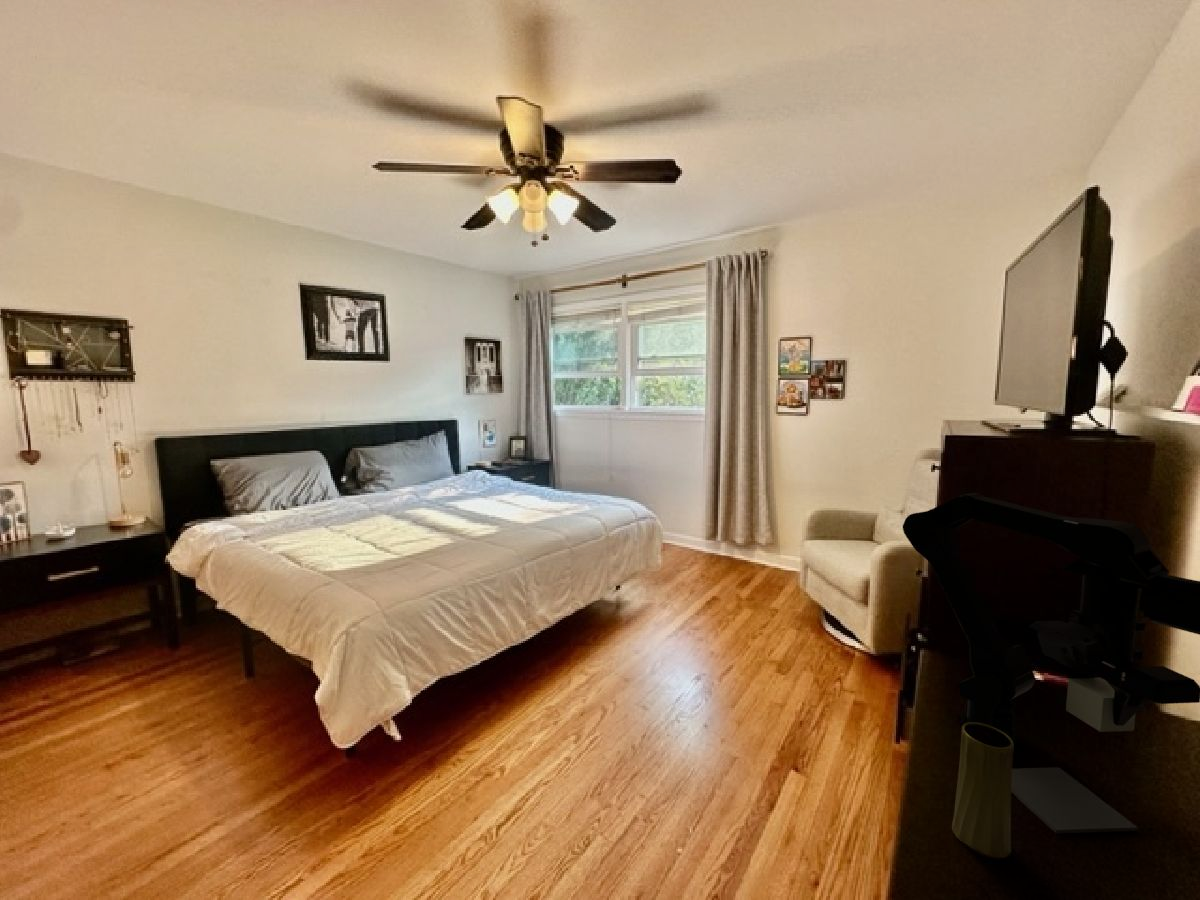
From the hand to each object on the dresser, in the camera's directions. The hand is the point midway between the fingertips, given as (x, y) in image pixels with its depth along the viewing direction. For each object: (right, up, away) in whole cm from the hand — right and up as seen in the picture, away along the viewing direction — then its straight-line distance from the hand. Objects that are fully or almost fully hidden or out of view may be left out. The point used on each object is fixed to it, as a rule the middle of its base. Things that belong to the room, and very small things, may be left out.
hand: (1099, 713), depth 73 cm
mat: (-8, -11, -2) cm, 14 cm away
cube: (0, -1, 0) cm, 1 cm away
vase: (-24, -12, -8) cm, 28 cm away
